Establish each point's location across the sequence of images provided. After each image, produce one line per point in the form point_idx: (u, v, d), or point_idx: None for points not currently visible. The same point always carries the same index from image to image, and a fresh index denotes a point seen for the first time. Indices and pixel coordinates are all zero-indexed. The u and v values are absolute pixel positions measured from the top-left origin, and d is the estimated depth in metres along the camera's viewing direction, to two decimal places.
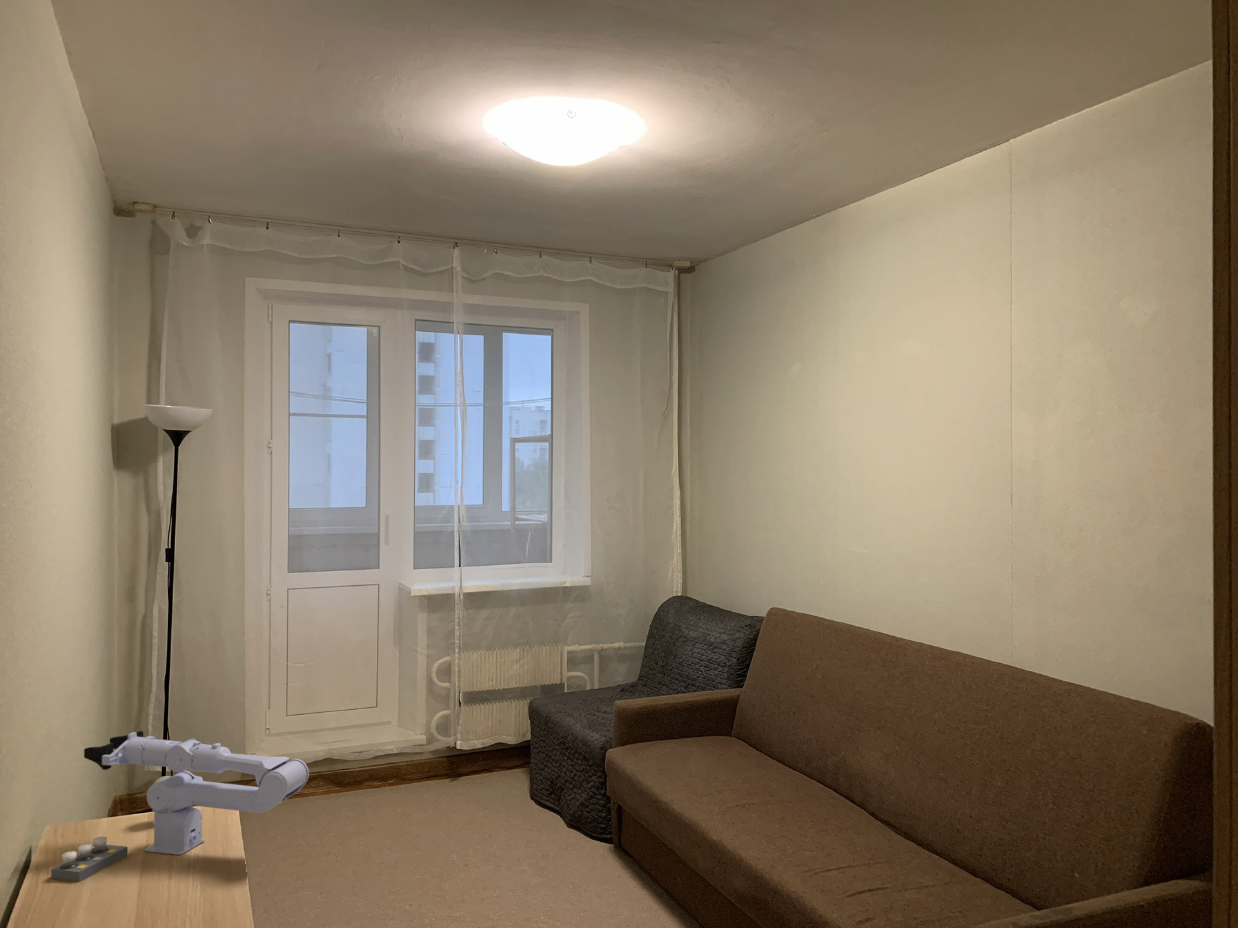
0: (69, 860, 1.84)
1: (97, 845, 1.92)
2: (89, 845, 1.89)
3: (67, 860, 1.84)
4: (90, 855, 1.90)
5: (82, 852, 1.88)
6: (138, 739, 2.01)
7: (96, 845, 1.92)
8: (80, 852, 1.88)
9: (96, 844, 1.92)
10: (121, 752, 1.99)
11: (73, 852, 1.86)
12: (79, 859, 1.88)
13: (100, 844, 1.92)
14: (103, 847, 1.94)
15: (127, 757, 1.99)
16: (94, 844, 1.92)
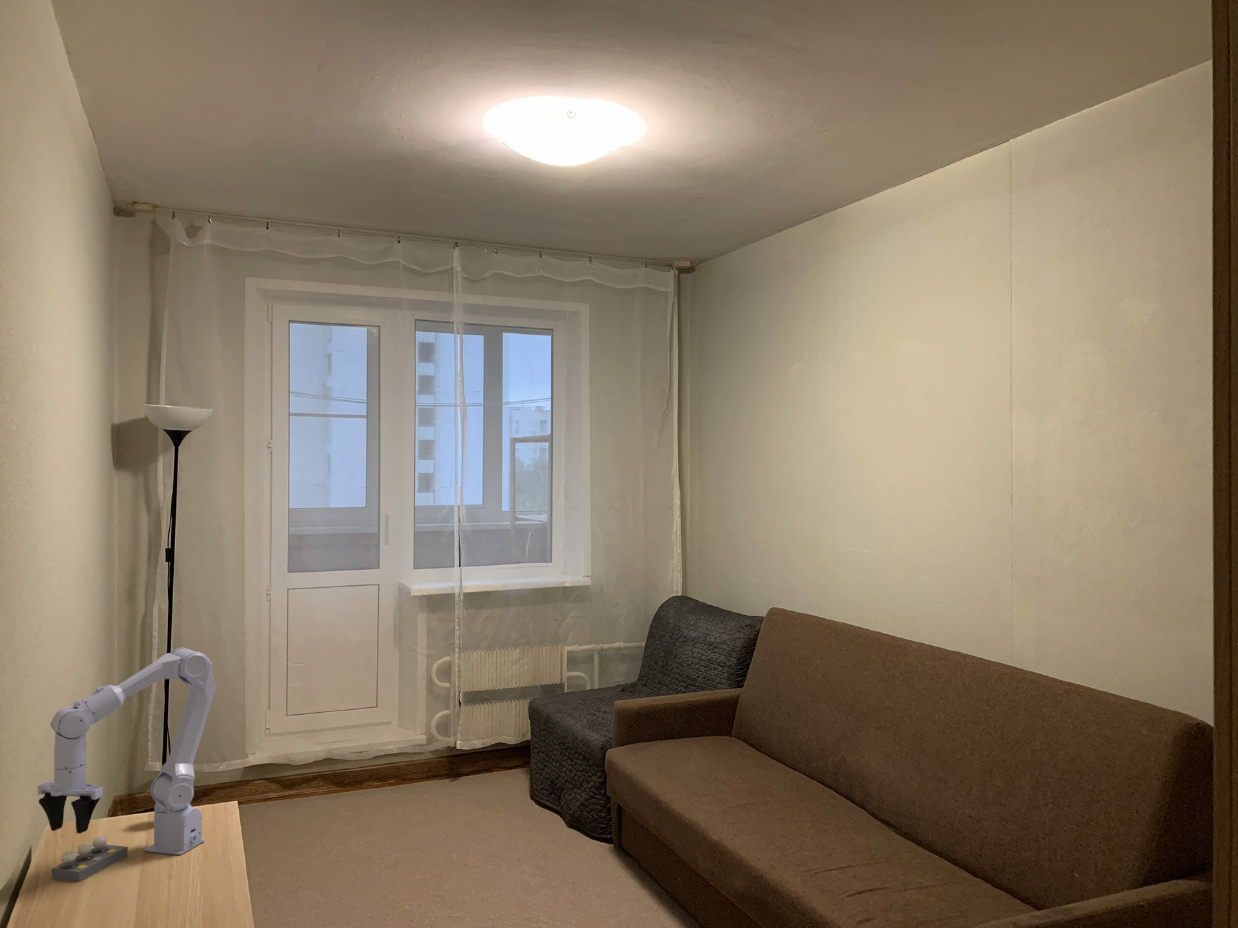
0: (69, 860, 1.84)
1: (97, 845, 1.92)
2: (89, 845, 1.89)
3: (67, 860, 1.84)
4: (90, 855, 1.90)
5: (82, 852, 1.88)
6: (60, 783, 1.83)
7: (96, 845, 1.92)
8: (80, 852, 1.88)
9: (96, 844, 1.92)
10: (80, 790, 1.84)
11: (73, 852, 1.86)
12: (79, 859, 1.88)
13: (100, 844, 1.92)
14: (103, 847, 1.94)
15: (83, 782, 1.85)
16: (94, 844, 1.92)
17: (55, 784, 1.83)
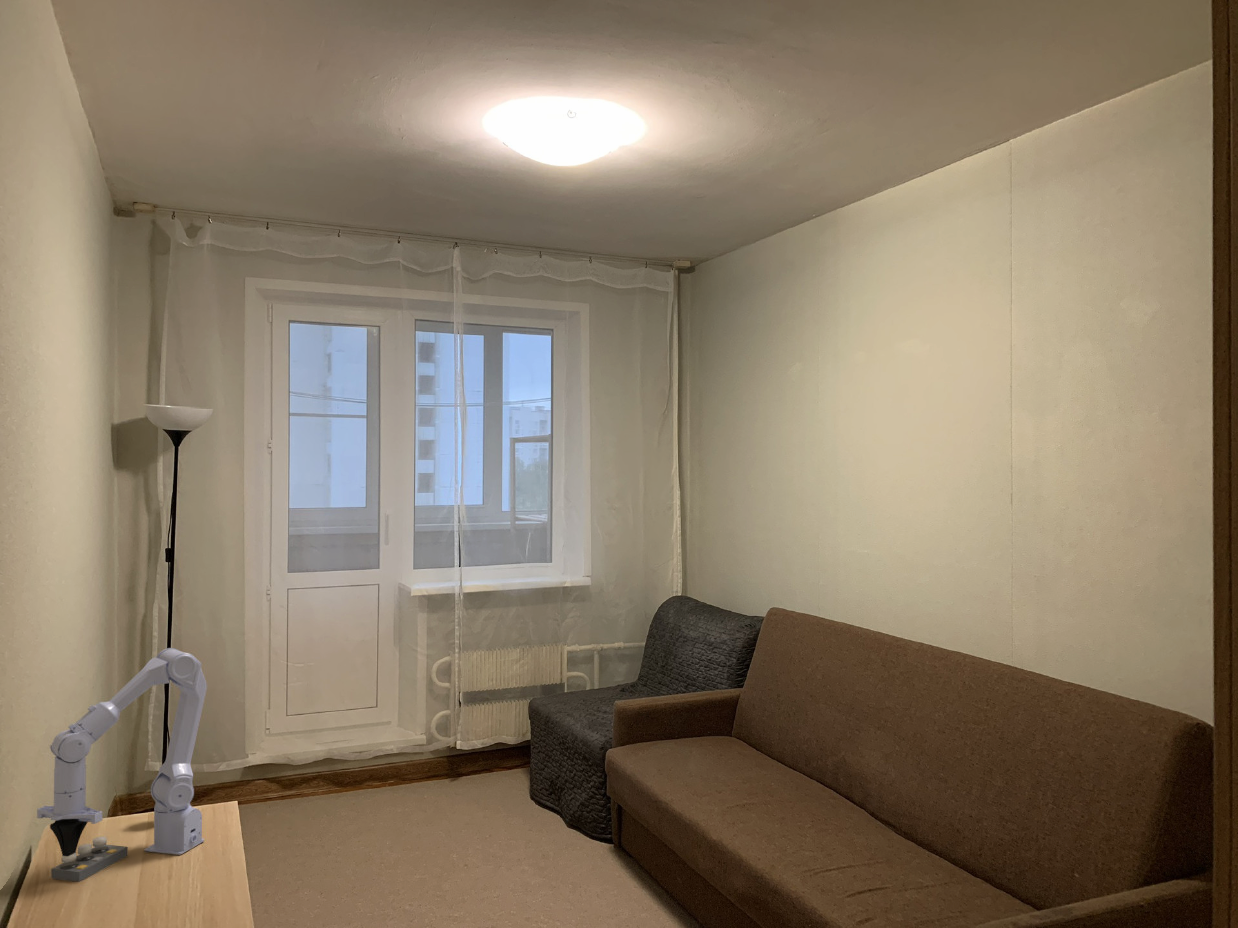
0: (69, 860, 1.84)
1: (97, 845, 1.92)
2: (89, 845, 1.89)
3: (67, 860, 1.84)
4: (90, 855, 1.90)
5: (82, 852, 1.88)
6: (60, 807, 1.82)
7: (96, 845, 1.92)
8: (80, 852, 1.88)
9: (96, 844, 1.92)
10: (80, 814, 1.84)
11: None
12: (79, 859, 1.88)
13: (100, 844, 1.92)
14: (103, 847, 1.94)
15: (83, 806, 1.85)
16: (94, 844, 1.92)
17: (55, 808, 1.83)
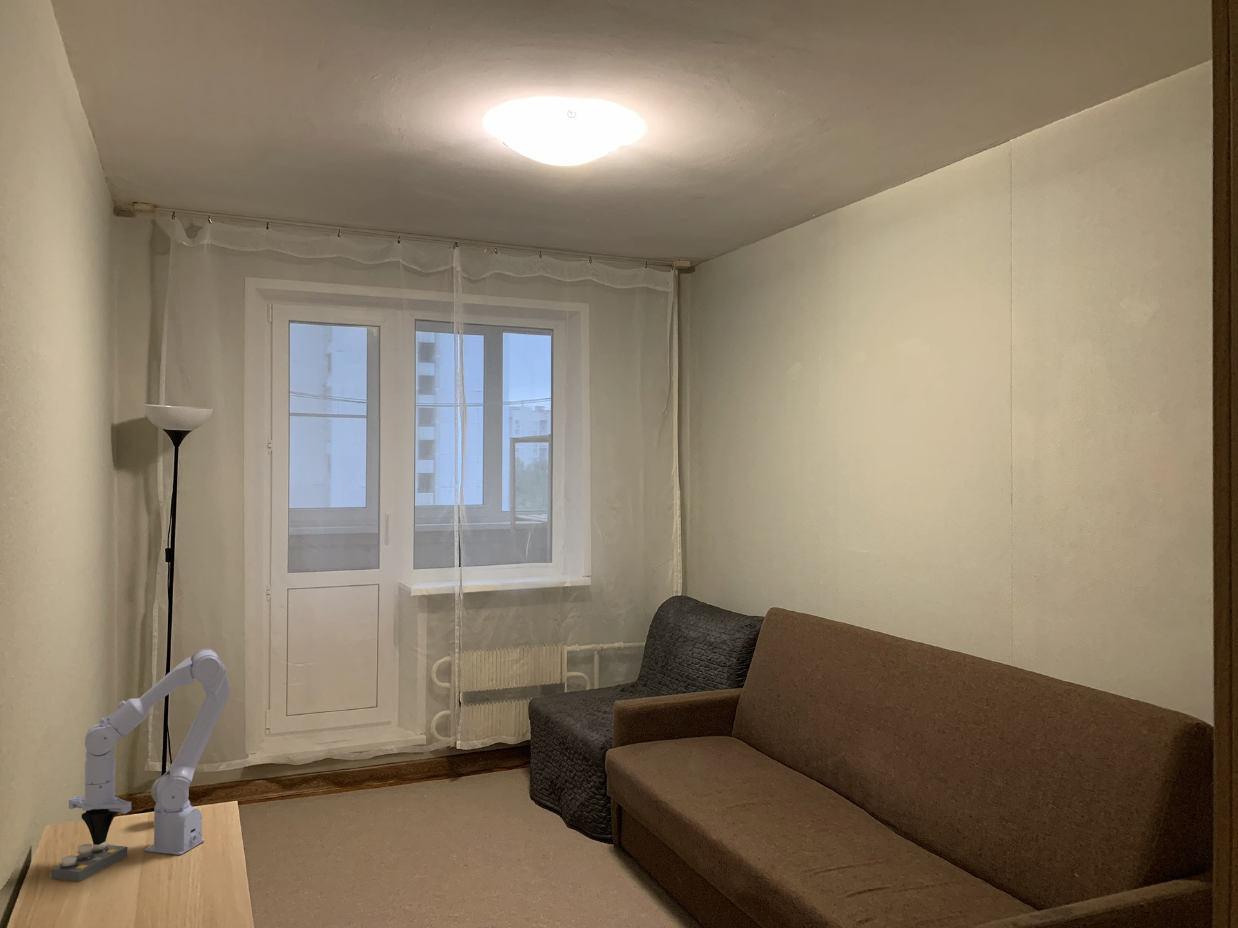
0: (69, 864, 1.84)
1: (97, 849, 1.92)
2: (89, 845, 1.89)
3: (67, 864, 1.84)
4: (90, 855, 1.90)
5: (82, 852, 1.88)
6: (91, 797, 1.90)
7: (96, 849, 1.92)
8: (80, 852, 1.88)
9: (96, 848, 1.92)
10: (110, 804, 1.92)
11: (73, 856, 1.86)
12: (79, 859, 1.88)
13: (100, 848, 1.92)
14: None
15: (112, 796, 1.93)
16: (94, 848, 1.92)
17: (86, 799, 1.91)
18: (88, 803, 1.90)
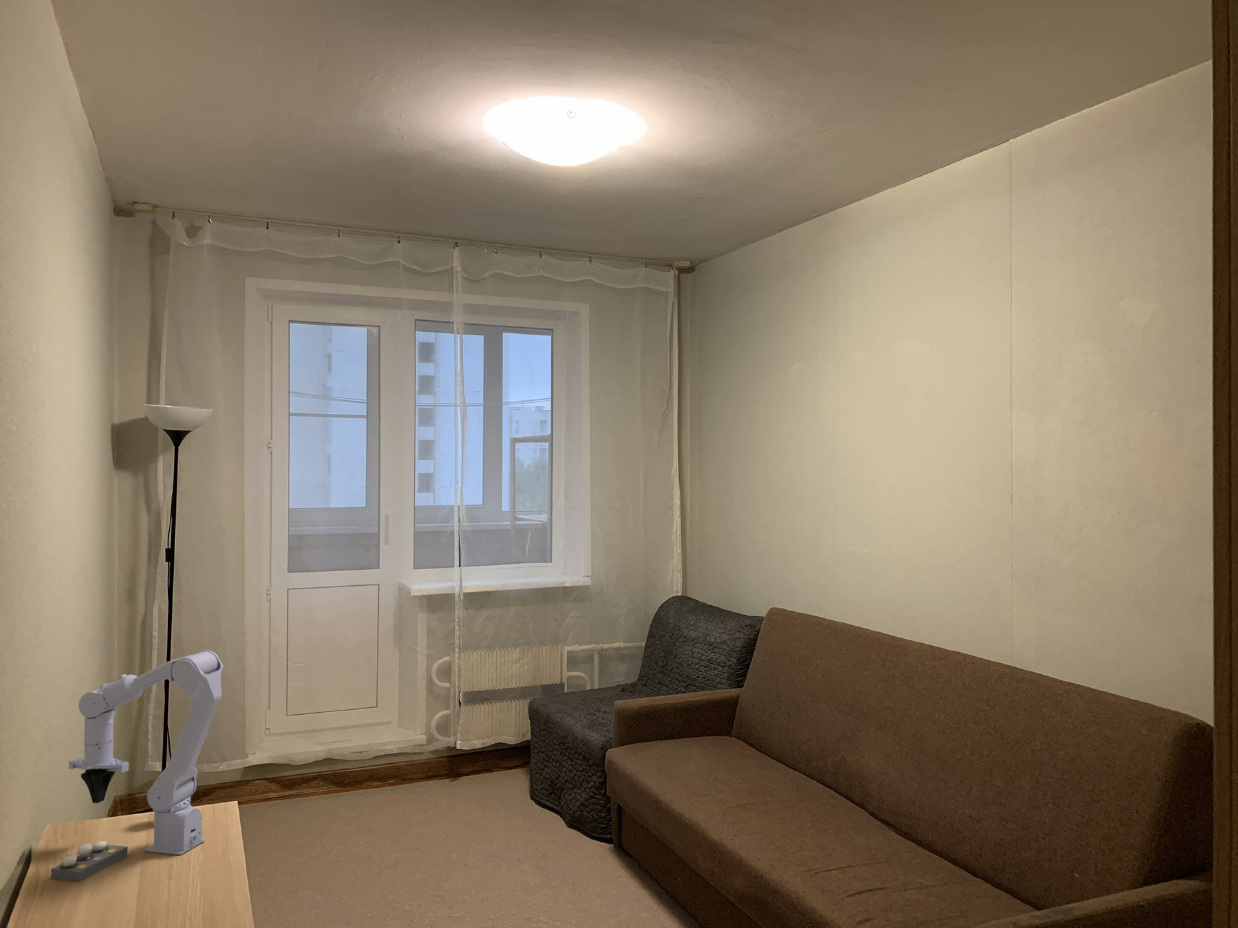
0: (69, 864, 1.84)
1: (97, 849, 1.92)
2: (89, 845, 1.89)
3: (67, 864, 1.84)
4: (90, 855, 1.90)
5: (82, 852, 1.88)
6: (90, 757, 1.99)
7: (96, 849, 1.92)
8: (80, 852, 1.88)
9: (96, 848, 1.92)
10: (108, 764, 2.01)
11: (73, 856, 1.86)
12: (79, 859, 1.88)
13: (100, 848, 1.92)
14: None
15: (111, 757, 2.02)
16: (94, 848, 1.92)
17: (85, 759, 2.00)
18: (87, 763, 2.00)
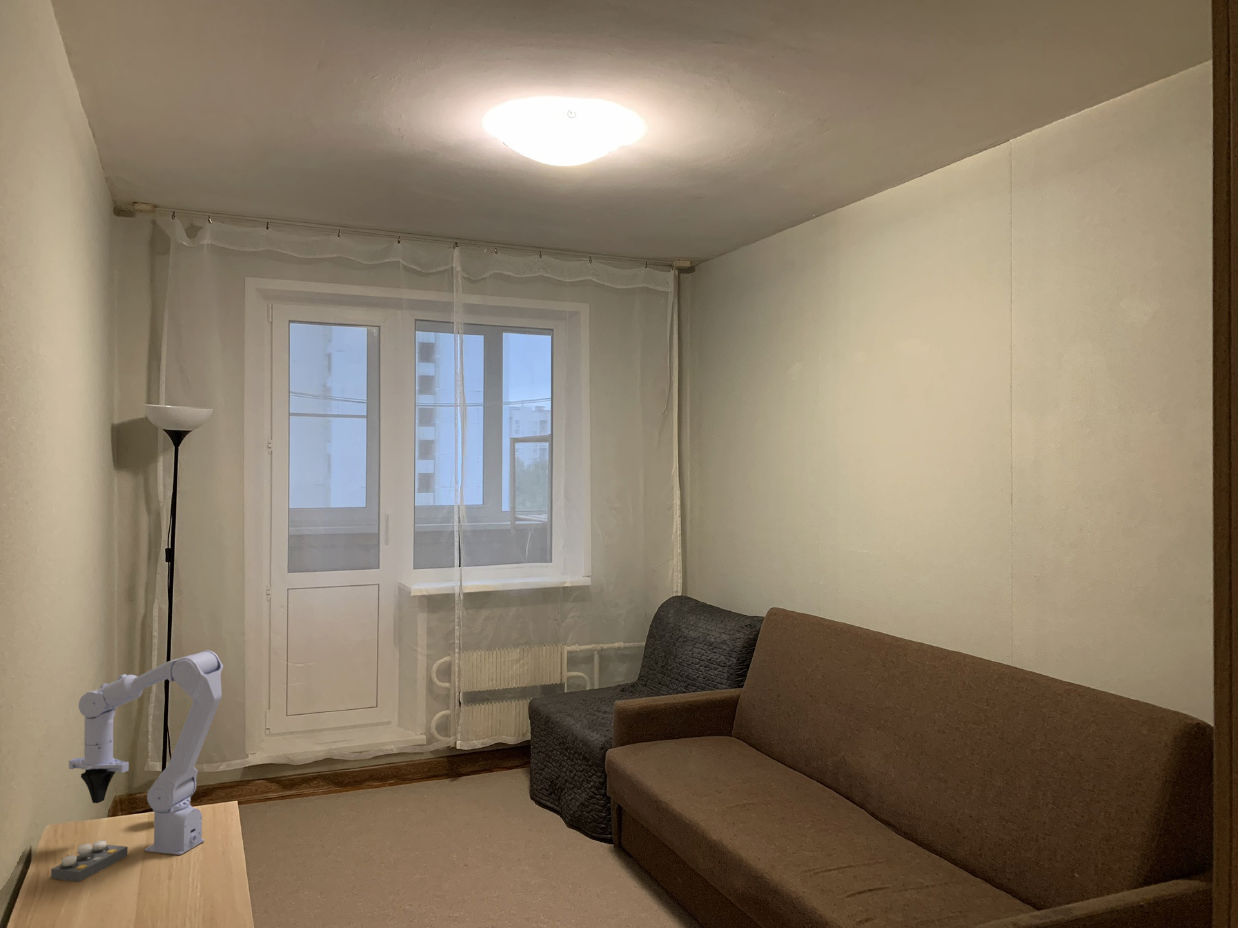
0: (69, 864, 1.84)
1: (97, 849, 1.92)
2: (89, 845, 1.89)
3: (67, 864, 1.84)
4: (90, 855, 1.90)
5: (82, 852, 1.88)
6: (90, 757, 1.99)
7: (96, 849, 1.92)
8: (80, 852, 1.88)
9: (96, 848, 1.92)
10: (108, 764, 2.01)
11: (73, 856, 1.86)
12: (79, 859, 1.88)
13: (100, 848, 1.92)
14: None
15: (111, 757, 2.02)
16: (94, 848, 1.92)
17: (85, 759, 2.00)
18: (87, 763, 2.00)
